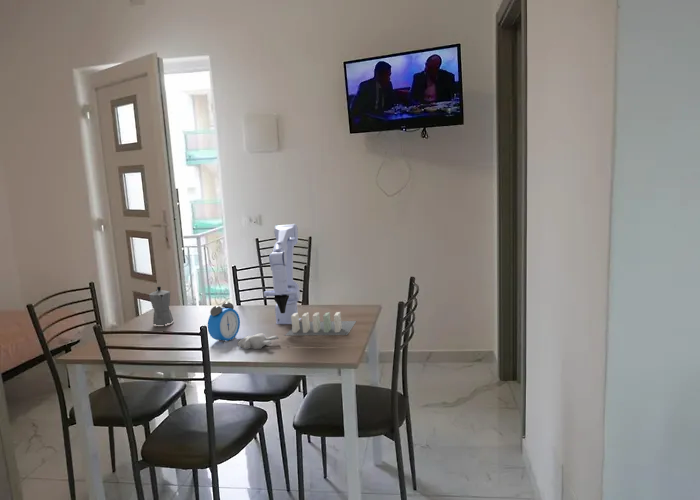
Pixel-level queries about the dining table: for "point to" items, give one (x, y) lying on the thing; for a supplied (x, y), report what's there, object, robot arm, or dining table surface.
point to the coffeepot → (161, 306)
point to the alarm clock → (223, 322)
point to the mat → (344, 331)
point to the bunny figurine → (256, 341)
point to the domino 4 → (327, 322)
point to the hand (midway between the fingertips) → (283, 312)
